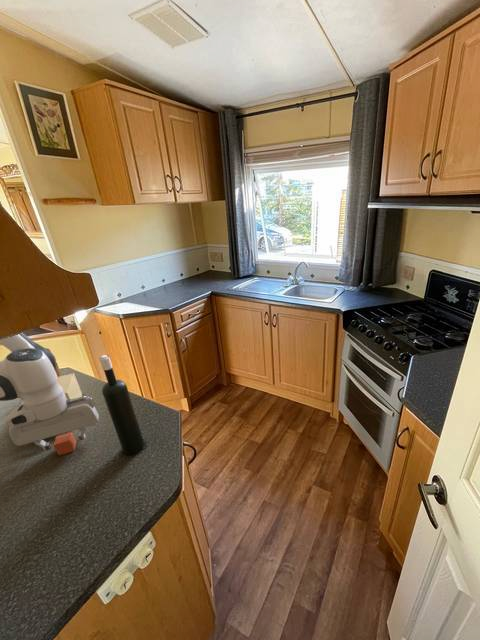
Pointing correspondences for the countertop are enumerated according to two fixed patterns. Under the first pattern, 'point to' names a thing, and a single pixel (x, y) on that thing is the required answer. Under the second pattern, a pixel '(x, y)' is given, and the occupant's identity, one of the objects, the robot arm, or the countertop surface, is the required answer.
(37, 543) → the countertop surface
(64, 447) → the block
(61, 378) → the cabinet
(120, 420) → the wine bottle
